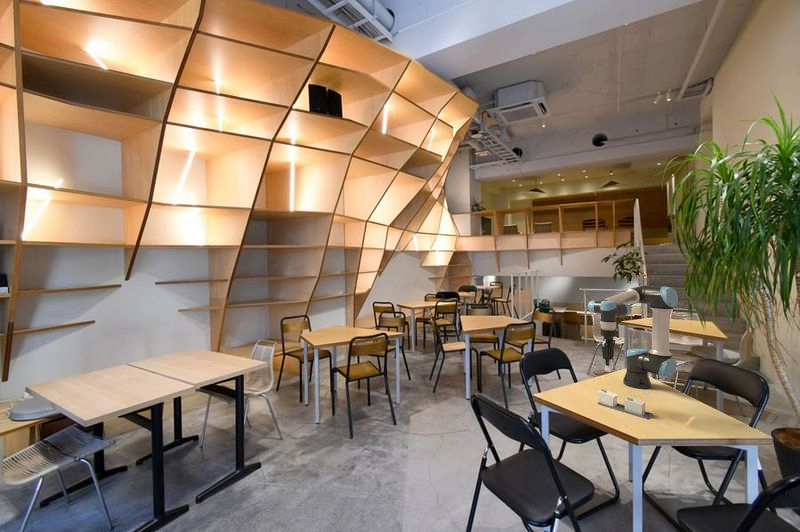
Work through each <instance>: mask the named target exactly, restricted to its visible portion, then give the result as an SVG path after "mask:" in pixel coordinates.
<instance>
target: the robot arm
mask: <svg viewBox="0 0 800 532" xmlns="http://www.w3.org/2000/svg"><path fill="white" fill-rule="evenodd" d="M678 302H679V296H678V293H677V291H676V289H674V288H673V287H669V286H662V285H660V286H659V285H647V284H646V285H639V286H636V287H632V288H629V289H627V290H625V292H622V293H619V294H616V295H613V296H609V297H607V298H606V297H605V298H603V299H600V300H595V299H594V300H592V299H591V300H590V301H589V302H588V304H587V309H588V311H589V312H590V313H592V314H599V315H600V322H599V324H600V336H601V337H603V338H602V342H600V346H601V352H602V359H603V360H604V371H605V372H609V373H611V372H612V360H614V354H615V344H616V340H615V339H614V338H616V336H617V330H616V329H617V318H621V317H622V318H624V317H628V316H629V315H630V314H631V313H632V307H631V306H630V305H631V304H632V305H635V304H644V305H646V304H647V305H649V309H650V310H651V311H652V323H651V324H652V329H651V330H652V331H651V332H652V333H651V349H650V350H649V349H646V348H629V349H627V351H626V372H625V375H624V377H623V380H622V381H623V382H622V383H623V385H625V386H628V387H630V388H633V389H640V390H641V389H642V390H648V389H651V388H652V382H651V379H650V377H649V373H651V374H655V375H657V376H662V377H666V378H667V377H669V378H670V376H672V375H673V374H674V373H675V371H676V370H677V360H676V359H675V358H674V357H673V354H672V352H670V327H671V326H670V322H671V321H670V319H671V316H670V315H671V312H672V311H673V310H674V307H676V306H677V305H678Z"/></svg>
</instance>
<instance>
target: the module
mask: <svg viewBox="0 0 800 532" xmlns="http://www.w3.org/2000/svg"><path fill="white" fill-rule="evenodd" d="M597 393H598V394H597V403H598V402H600V403H603V404H605V405H609V406H612V407H614V406H616V405H617V403H618V396H619V395H618V394H617V393H615V392H611V391H608V390H606V389H604V388H602V389H600V390H598V392H597Z"/></svg>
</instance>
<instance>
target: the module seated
mask: <svg viewBox="0 0 800 532" xmlns="http://www.w3.org/2000/svg"><path fill="white" fill-rule="evenodd" d="M624 405H625V411H629V412H632V413H635V414H639V415H642V416H643V415H644V414H645V411H646V402H645V401H642V400H638V399H634V398H633V397H629V396H628V397H627V398H626V399H625V400H624Z"/></svg>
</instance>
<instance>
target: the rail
mask: <svg viewBox="0 0 800 532" xmlns="http://www.w3.org/2000/svg"><path fill="white" fill-rule="evenodd" d="M597 405H599V406H602V407H605V408H609V409H612V410H615V411H619V412H622V413H625V414H629V415H632V416H634V417H638V418H641V419H643V420H644V419H646V420H648V419H650V418H651V417H652V416H654V413H652V412H650V411H646V410H645V414H644V415H643V416H642V415H639V414H635V413H632V412H629V411H625V404H621V403H618V402H617V405H616V406H614V407H612V406H609V405H605V404H603V403H600V402H598V401H597Z"/></svg>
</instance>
